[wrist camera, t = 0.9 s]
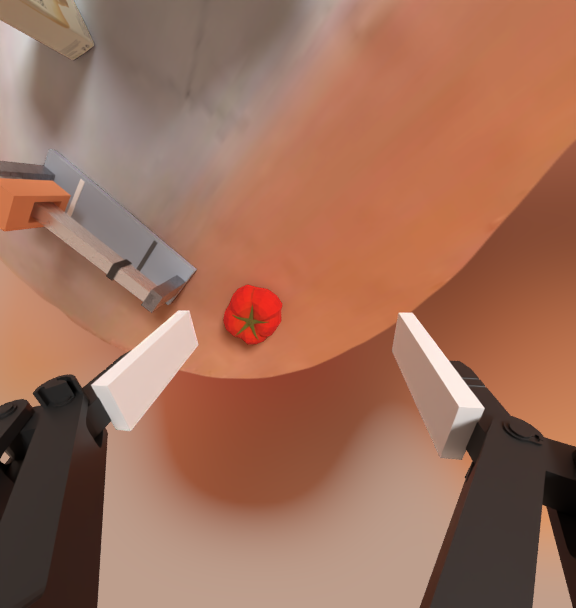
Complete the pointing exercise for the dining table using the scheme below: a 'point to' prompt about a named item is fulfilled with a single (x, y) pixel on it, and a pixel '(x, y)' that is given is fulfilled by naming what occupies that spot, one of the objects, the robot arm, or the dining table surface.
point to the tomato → (253, 314)
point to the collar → (27, 201)
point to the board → (116, 225)
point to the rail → (92, 242)
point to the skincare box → (49, 24)
